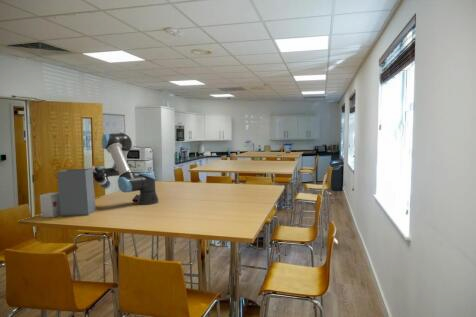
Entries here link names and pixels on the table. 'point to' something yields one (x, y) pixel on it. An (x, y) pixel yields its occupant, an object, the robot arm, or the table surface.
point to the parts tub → (76, 192)
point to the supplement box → (50, 205)
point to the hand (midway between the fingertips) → (90, 167)
